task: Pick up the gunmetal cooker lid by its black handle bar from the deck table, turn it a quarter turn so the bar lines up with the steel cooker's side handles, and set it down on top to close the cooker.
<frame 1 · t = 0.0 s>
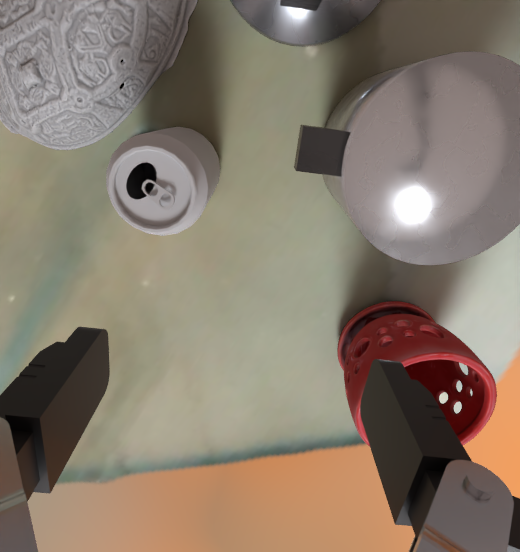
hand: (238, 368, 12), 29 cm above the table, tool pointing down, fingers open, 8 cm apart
plant pot: (386, 338, 46), on the table
grey oval domed piece: (86, 23, 34), on the table
cooker: (392, 151, 37), on the table
can: (183, 166, 38), on the table
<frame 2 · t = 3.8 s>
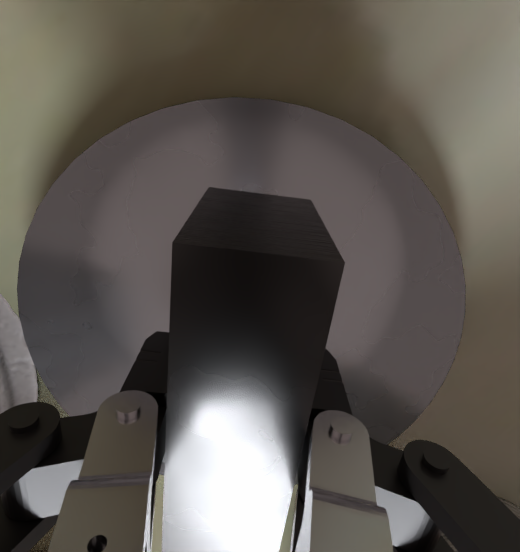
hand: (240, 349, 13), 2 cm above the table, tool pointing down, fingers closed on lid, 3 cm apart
lid: (244, 315, 15), on the table, touching gripper
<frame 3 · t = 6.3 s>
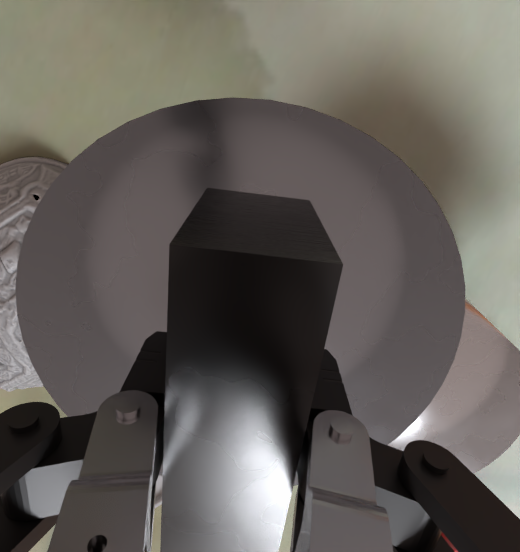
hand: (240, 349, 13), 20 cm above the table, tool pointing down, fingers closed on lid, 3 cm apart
grey oval domed piece: (37, 283, 34), on the table
cooker: (368, 317, 35), on the table
lid: (243, 315, 15), point 18 cm above the table, touching gripper
when the fingers open (16 cm above the table, at t = 8.7 s): lid drops 1 cm, resting on cooker.
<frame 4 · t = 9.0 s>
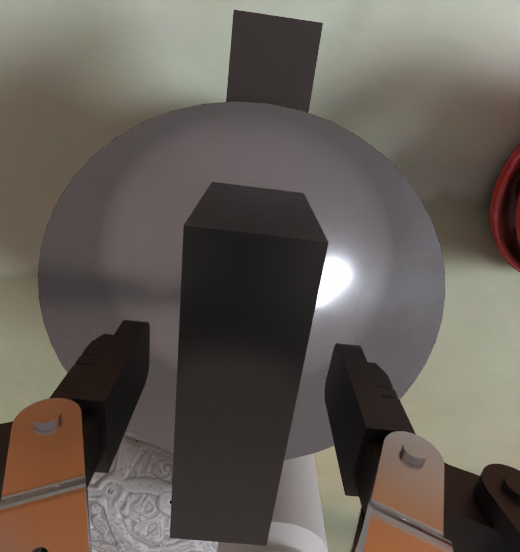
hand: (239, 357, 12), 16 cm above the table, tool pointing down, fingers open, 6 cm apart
grey oval domed piece: (148, 489, 39), on the table
cooker: (251, 220, 27), on the table
lid: (243, 300, 16), point 12 cm above the table, touching cooker
can: (269, 435, 35), on the table
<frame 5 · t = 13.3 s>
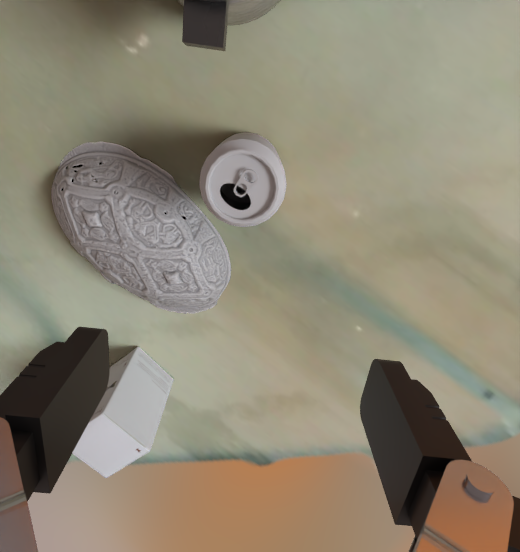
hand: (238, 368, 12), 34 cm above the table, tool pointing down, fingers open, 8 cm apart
supplement box: (138, 374, 54), on the table
grey oval domed piece: (146, 234, 46), on the table
can: (246, 167, 43), on the table
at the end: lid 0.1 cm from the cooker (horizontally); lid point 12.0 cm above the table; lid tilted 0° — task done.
